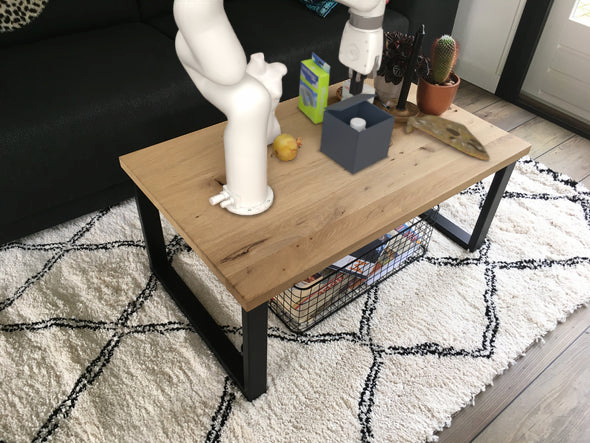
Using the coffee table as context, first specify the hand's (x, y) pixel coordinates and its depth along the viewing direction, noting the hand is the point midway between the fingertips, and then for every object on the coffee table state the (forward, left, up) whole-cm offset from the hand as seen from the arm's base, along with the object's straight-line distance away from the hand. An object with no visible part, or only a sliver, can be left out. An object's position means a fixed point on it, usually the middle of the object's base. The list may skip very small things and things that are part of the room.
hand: (355, 93), depth 126 cm
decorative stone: (+28, -13, -20) cm, 37 cm away
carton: (0, -2, -18) cm, 18 cm away
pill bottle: (0, -2, -17) cm, 17 cm away
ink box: (+12, +10, -18) cm, 24 cm away
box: (+4, +20, -18) cm, 27 cm away
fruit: (-16, +8, -18) cm, 25 cm away
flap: (0, +2, -4) cm, 4 cm away
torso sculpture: (-17, +18, -18) cm, 30 cm away
